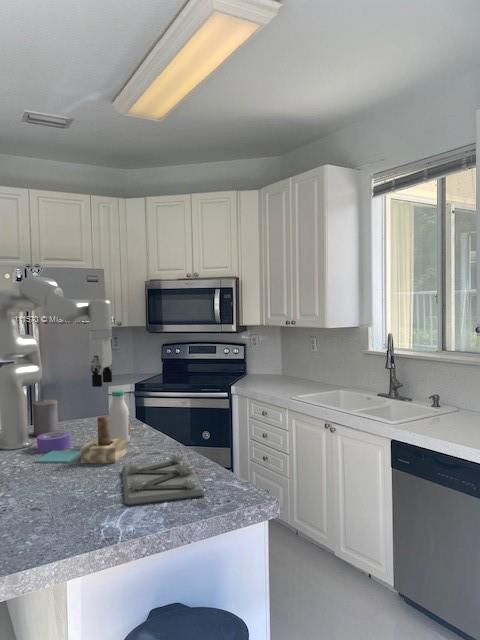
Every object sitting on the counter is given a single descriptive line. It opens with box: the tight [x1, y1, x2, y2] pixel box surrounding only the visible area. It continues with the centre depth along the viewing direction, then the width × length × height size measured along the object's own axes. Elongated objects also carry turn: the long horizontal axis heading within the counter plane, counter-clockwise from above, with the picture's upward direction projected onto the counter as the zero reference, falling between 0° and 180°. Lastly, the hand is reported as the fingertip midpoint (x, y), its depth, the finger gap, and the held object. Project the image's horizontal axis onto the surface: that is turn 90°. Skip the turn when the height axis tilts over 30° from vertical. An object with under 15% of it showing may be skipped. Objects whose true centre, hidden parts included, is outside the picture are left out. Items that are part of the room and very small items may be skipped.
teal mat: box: [35, 450, 81, 464], centre depth 175 cm, size 12×12×1 cm
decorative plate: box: [121, 451, 206, 506], centre depth 148 cm, size 30×22×7 cm
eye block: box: [80, 438, 128, 464], centre depth 174 cm, size 12×12×5 cm
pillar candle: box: [32, 399, 59, 438], centre depth 209 cm, size 10×10×15 cm
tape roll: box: [36, 430, 72, 453], centre depth 188 cm, size 12×12×5 cm
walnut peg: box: [96, 416, 110, 446], centre depth 174 cm, size 4×4×14 cm
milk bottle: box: [108, 390, 131, 444], centre depth 193 cm, size 8×8×20 cm
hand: (102, 384), depth 173 cm, fingers open, 9 cm apart
